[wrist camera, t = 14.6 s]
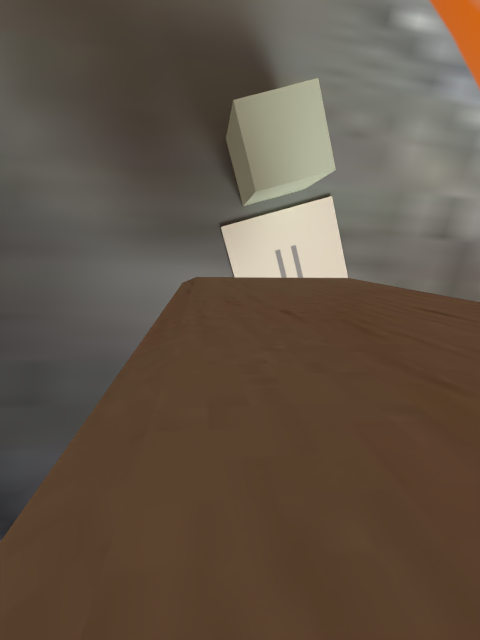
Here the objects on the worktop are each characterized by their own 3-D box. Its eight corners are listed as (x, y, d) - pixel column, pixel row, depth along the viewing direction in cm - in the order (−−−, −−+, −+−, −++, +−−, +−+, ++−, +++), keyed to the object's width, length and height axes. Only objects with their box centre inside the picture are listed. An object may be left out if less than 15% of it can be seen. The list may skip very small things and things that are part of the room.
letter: (220, 227, 32) (220, 226, 31) (330, 196, 32) (331, 196, 32) (262, 378, 35) (263, 380, 35) (360, 349, 36) (362, 350, 35)
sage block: (225, 138, 30) (233, 100, 22) (289, 122, 30) (318, 77, 23) (242, 206, 32) (255, 191, 24) (303, 189, 32) (335, 169, 24)
